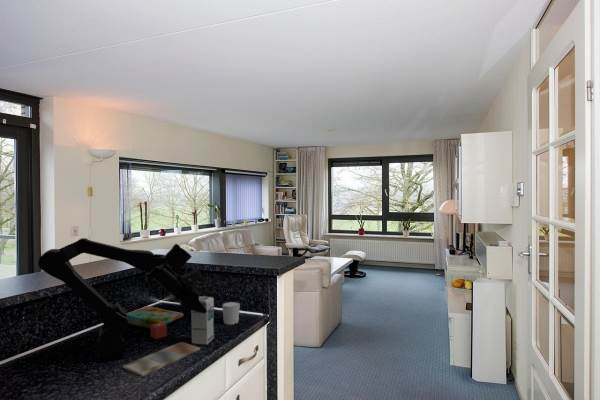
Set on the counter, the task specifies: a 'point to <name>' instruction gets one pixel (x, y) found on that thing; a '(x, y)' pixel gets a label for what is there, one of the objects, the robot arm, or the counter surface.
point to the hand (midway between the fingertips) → (203, 308)
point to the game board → (160, 358)
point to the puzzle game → (152, 316)
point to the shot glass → (231, 312)
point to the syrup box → (203, 322)
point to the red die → (158, 330)
